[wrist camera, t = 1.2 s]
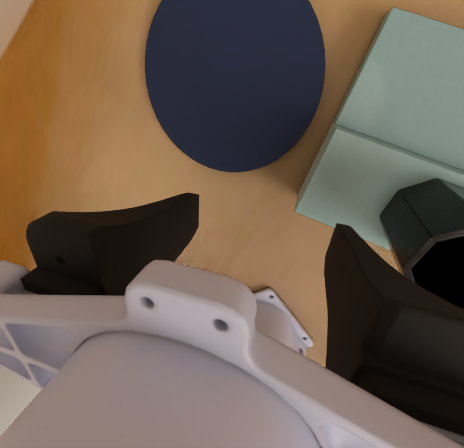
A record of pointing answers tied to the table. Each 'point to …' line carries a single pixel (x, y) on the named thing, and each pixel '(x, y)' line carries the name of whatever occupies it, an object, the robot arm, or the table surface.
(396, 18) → the shelf riser
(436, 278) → the pen cup
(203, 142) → the navy mat
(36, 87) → the table surface
